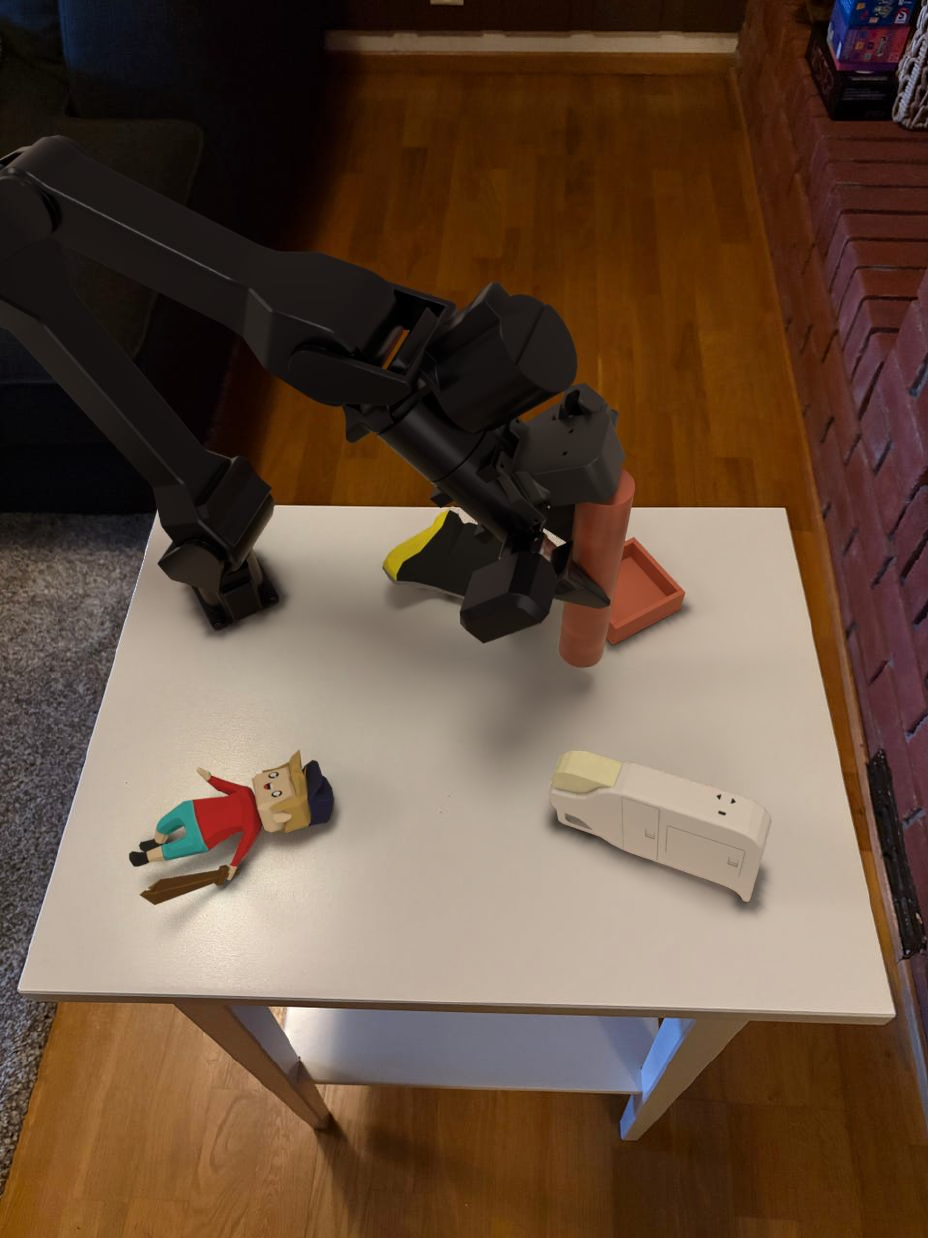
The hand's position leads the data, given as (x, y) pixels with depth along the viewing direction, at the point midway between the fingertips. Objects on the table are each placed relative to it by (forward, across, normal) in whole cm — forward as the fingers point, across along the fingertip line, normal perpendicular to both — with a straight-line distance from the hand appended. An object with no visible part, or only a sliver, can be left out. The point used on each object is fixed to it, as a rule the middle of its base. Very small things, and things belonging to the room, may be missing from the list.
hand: (610, 584), depth 62 cm
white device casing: (+15, -13, +5) cm, 20 cm away
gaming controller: (+1, +8, +19) cm, 20 cm away
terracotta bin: (+10, +10, +9) cm, 17 cm away
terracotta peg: (+6, 0, +7) cm, 9 cm away
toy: (-6, -20, +26) cm, 34 cm away
